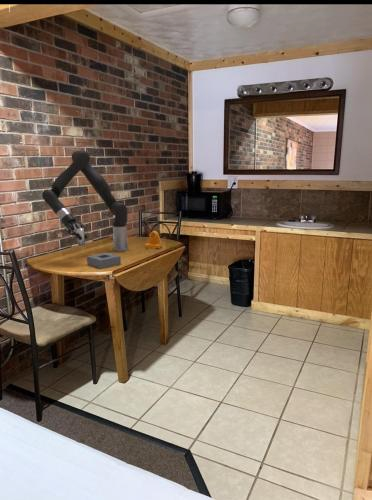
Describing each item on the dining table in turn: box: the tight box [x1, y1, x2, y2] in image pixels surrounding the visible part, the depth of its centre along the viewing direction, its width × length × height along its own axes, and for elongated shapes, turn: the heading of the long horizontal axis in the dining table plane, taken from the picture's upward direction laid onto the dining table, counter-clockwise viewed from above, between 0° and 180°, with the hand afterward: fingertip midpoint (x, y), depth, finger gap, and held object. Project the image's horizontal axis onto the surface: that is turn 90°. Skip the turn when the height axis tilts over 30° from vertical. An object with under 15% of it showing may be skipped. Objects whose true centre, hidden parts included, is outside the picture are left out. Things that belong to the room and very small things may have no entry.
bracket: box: [144, 230, 163, 250], centre depth 264 cm, size 11×7×12 cm, turn 74°
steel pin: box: [77, 227, 86, 247], centre depth 216 cm, size 4×4×10 cm
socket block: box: [86, 252, 122, 270], centre depth 218 cm, size 14×14×5 cm
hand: (83, 238), depth 215 cm, fingers closed on steel pin, 4 cm apart
